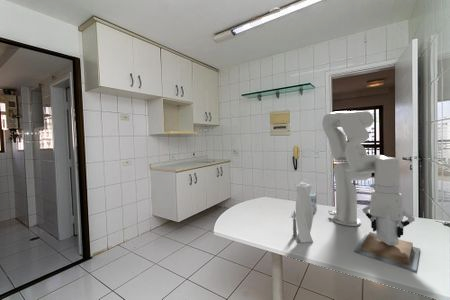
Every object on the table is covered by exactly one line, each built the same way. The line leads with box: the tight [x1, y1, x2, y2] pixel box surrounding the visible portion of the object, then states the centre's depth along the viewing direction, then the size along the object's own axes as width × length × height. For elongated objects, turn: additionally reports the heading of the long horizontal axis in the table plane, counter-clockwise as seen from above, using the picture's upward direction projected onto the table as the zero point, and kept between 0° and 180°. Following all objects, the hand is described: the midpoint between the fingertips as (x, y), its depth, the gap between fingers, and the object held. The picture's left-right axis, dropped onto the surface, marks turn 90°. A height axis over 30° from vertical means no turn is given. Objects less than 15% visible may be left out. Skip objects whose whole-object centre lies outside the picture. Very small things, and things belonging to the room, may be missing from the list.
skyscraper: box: [292, 178, 314, 244], centre depth 92 cm, size 8×8×28 cm
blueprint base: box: [353, 231, 421, 273], centre depth 80 cm, size 18×18×3 cm
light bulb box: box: [310, 192, 318, 214], centre depth 127 cm, size 11×7×11 cm, turn 58°
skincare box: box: [375, 214, 399, 245], centre depth 80 cm, size 6×4×12 cm
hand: (386, 232), depth 80 cm, fingers closed on skincare box, 7 cm apart
